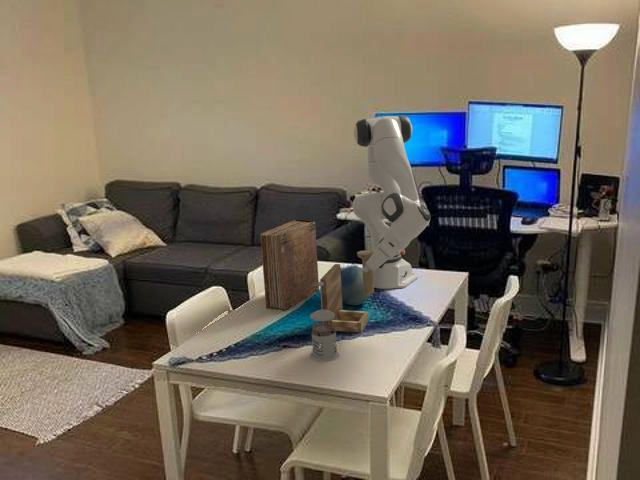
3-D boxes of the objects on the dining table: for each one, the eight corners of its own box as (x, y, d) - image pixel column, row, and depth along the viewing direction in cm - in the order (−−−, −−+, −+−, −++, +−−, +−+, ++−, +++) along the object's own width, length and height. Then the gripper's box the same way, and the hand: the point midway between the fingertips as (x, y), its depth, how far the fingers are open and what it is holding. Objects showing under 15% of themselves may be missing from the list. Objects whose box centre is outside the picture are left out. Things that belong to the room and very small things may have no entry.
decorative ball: (344, 295, 265) (342, 260, 261) (379, 299, 259) (378, 263, 255) (328, 308, 252) (326, 271, 249) (365, 312, 246) (363, 274, 242)
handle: (374, 296, 227) (371, 254, 224) (358, 294, 231) (354, 253, 227) (380, 291, 231) (377, 251, 228) (364, 290, 235) (361, 250, 231)
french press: (317, 364, 206) (312, 289, 199) (303, 350, 216) (297, 278, 210) (345, 357, 210) (341, 283, 203) (330, 344, 220) (325, 273, 213)
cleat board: (370, 317, 241) (368, 265, 236) (358, 336, 225) (356, 281, 220) (337, 315, 245) (334, 264, 240) (323, 334, 229) (320, 279, 224)
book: (285, 311, 252) (279, 236, 244) (265, 308, 257) (259, 234, 249) (319, 290, 273) (315, 220, 265) (300, 288, 278) (295, 219, 270)
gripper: (391, 228, 233) (365, 253, 239) (379, 243, 214) (352, 271, 220) (404, 240, 233) (378, 265, 238) (393, 257, 214) (365, 284, 220)
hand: (365, 268), depth 229 cm, fingers closed on handle, 3 cm apart
